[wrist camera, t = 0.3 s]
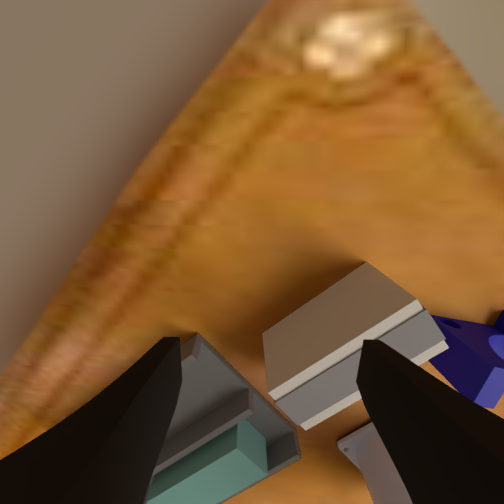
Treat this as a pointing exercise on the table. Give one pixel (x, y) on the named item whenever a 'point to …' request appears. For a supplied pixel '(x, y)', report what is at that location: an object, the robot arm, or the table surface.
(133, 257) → the table surface
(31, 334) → the table surface
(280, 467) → the grey divided tray
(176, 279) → the table surface
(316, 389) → the grey striped bar
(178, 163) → the table surface
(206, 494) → the teal rectangular prism
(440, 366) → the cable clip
